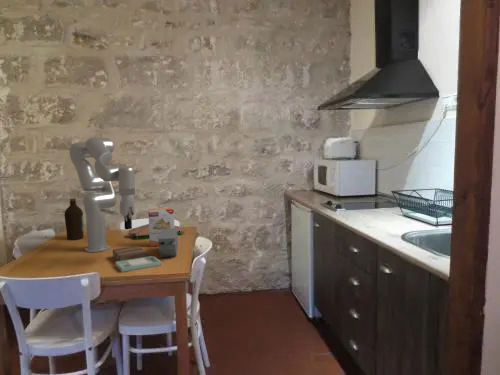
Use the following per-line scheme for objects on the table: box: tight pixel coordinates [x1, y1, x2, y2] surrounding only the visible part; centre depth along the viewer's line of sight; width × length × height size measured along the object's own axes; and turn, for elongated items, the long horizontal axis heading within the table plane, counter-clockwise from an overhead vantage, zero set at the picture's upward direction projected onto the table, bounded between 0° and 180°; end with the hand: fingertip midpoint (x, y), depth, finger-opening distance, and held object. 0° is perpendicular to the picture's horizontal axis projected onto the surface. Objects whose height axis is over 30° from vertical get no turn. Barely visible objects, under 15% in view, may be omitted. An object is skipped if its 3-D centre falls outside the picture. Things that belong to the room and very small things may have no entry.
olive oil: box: [63, 198, 84, 241], centre depth 246 cm, size 11×11×25 cm
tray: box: [114, 255, 162, 273], centre depth 185 cm, size 12×18×2 cm, turn 122°
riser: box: [112, 245, 149, 262], centre depth 197 cm, size 16×13×4 cm
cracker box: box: [148, 207, 175, 248], centre depth 224 cm, size 14×6×21 cm, turn 102°
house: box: [128, 223, 186, 240], centre depth 253 cm, size 23×33×8 cm
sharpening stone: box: [158, 228, 179, 258], centre depth 205 cm, size 25×8×11 cm, turn 7°
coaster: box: [127, 258, 149, 267], centre depth 183 cm, size 8×8×2 cm
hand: (128, 228), depth 195 cm, fingers closed
